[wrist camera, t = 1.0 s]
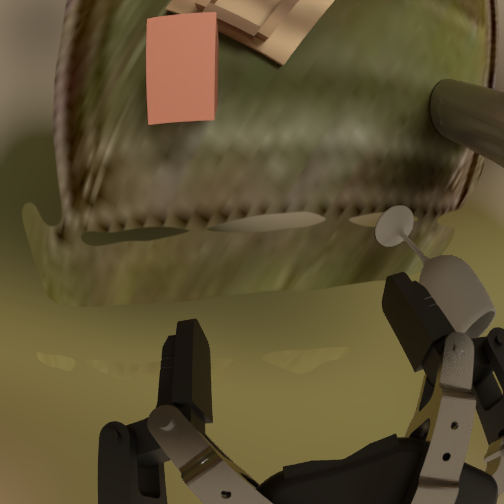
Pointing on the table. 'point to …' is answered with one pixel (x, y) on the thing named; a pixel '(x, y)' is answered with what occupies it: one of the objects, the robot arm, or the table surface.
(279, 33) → the jig
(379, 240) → the wineglass
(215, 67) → the terracotta rectangular block
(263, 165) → the table surface
